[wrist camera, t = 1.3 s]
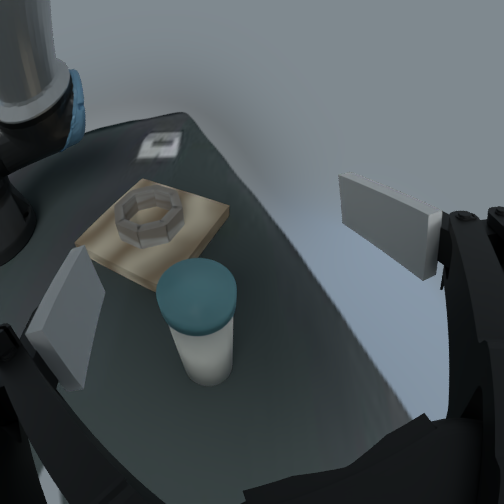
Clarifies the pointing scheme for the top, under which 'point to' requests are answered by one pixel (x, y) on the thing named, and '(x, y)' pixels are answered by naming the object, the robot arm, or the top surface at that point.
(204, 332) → the canister
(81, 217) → the top surface
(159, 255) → the collar base
